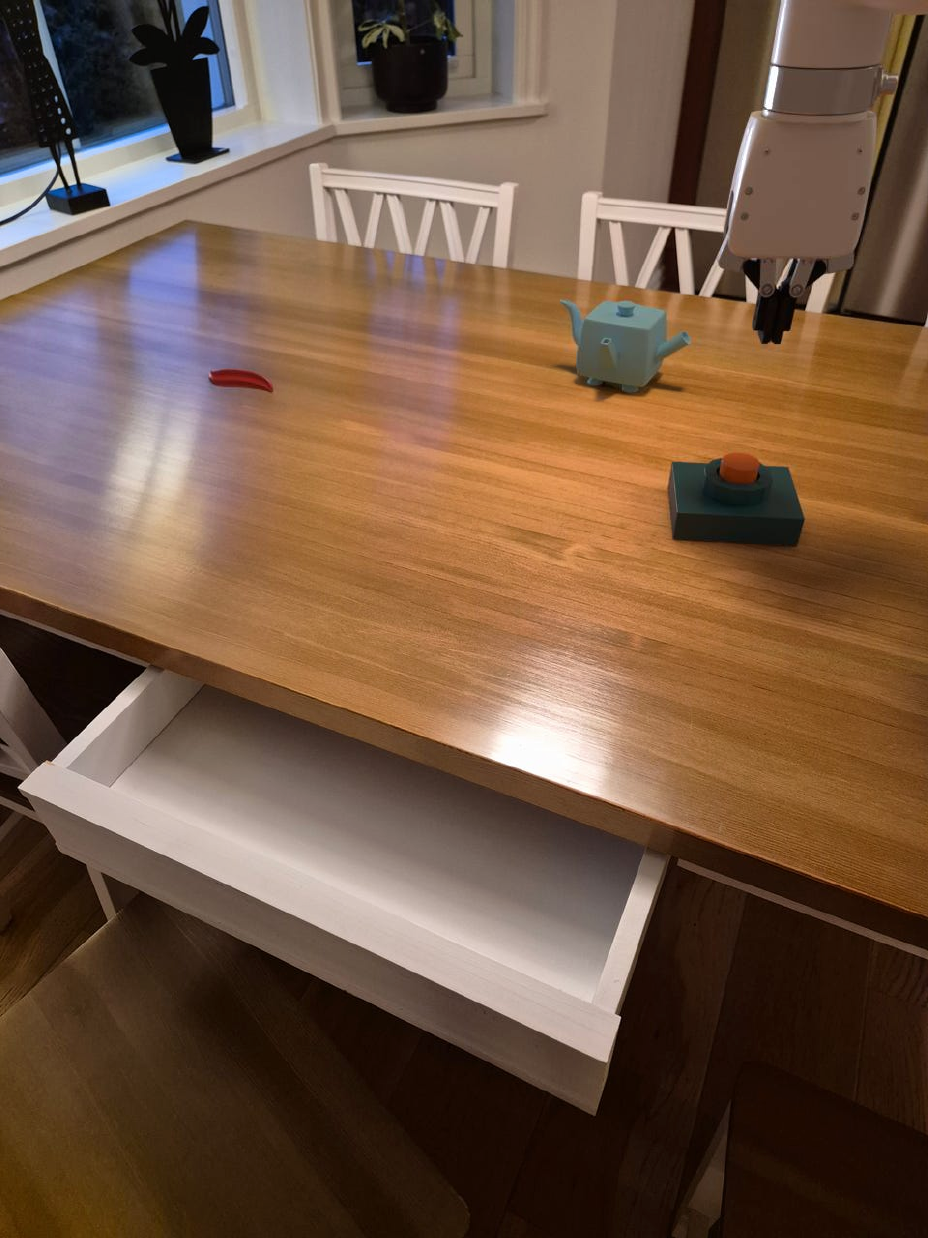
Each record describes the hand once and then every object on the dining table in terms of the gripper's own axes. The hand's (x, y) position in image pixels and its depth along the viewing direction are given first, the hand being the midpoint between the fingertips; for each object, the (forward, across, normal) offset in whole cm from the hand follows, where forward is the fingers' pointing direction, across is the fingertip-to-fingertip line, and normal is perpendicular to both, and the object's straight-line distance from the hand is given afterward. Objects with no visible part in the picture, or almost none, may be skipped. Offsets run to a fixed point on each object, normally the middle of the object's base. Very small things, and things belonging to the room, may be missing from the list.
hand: (768, 338), depth 73 cm
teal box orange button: (+19, 0, -1) cm, 19 cm away
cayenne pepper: (+18, +63, -28) cm, 71 cm away
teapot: (+19, +12, -33) cm, 40 cm away
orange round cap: (+14, 0, -1) cm, 15 cm away
